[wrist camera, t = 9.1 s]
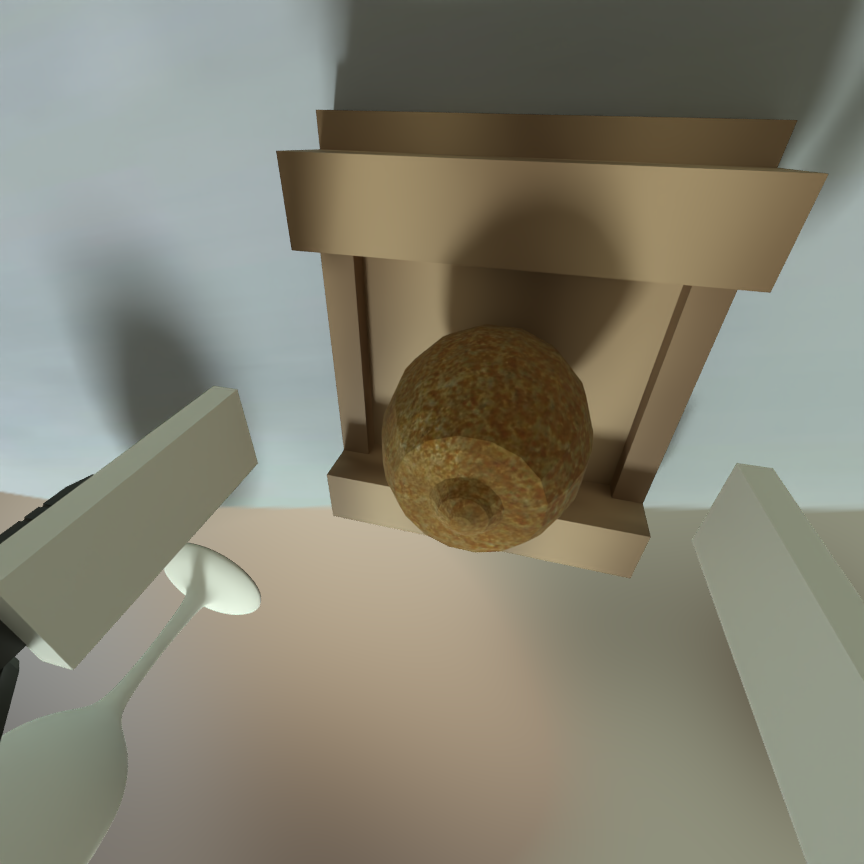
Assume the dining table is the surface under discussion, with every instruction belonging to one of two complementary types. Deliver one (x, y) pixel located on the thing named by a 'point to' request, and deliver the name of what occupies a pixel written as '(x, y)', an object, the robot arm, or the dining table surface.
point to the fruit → (486, 438)
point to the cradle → (541, 274)
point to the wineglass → (97, 736)
